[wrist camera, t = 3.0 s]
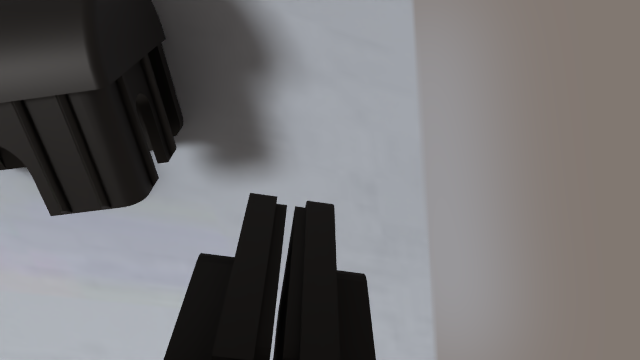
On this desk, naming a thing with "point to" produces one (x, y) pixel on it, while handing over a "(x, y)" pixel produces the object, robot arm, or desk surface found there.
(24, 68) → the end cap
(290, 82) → the desk surface
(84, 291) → the desk surface
